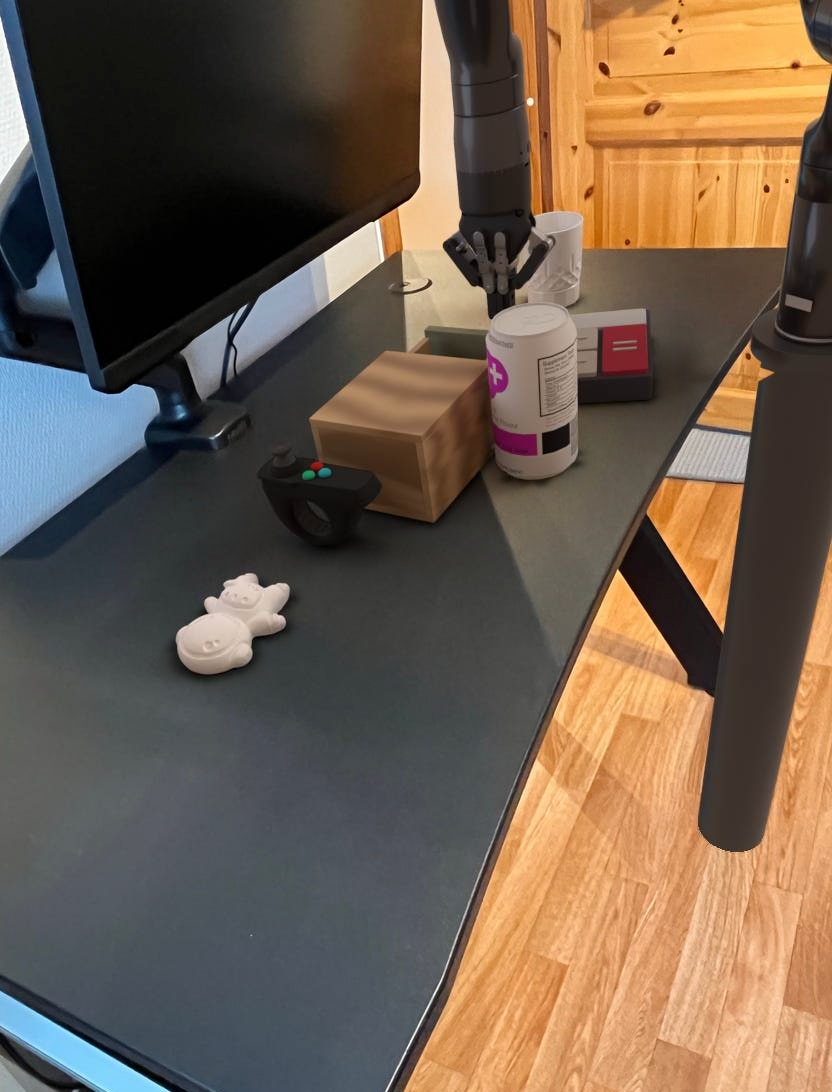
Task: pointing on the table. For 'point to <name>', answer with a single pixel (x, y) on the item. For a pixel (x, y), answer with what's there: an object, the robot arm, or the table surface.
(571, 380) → the supplement can
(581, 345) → the calculator
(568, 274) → the white cup
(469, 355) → the drawer
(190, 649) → the white animal figurine
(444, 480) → the cabinet
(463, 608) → the table surface
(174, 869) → the table surface
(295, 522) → the controller
